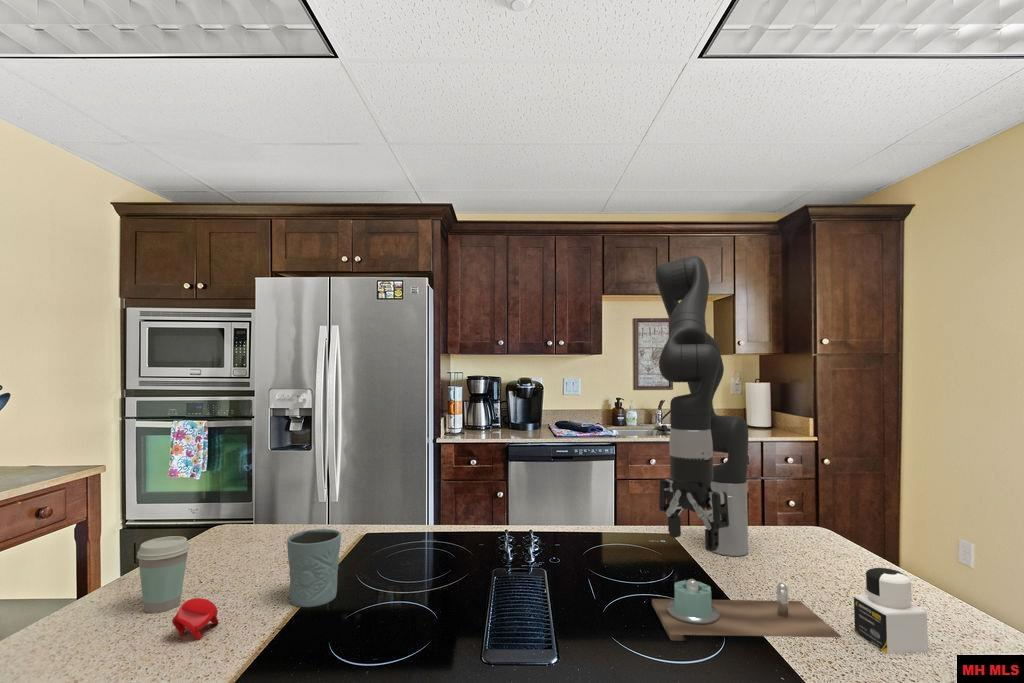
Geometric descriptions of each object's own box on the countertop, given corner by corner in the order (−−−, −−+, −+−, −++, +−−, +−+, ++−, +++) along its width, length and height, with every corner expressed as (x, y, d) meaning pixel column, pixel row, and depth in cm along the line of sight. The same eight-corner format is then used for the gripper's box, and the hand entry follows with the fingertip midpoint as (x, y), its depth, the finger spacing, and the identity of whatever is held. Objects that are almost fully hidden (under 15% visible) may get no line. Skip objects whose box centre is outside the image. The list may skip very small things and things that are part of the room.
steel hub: (661, 602, 103) (661, 569, 103) (709, 603, 102) (709, 570, 103) (674, 624, 94) (673, 589, 94) (727, 625, 93) (726, 589, 94)
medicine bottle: (854, 637, 91) (851, 564, 92) (893, 635, 92) (891, 563, 93) (886, 660, 84) (883, 580, 85) (929, 658, 85) (926, 579, 85)
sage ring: (667, 606, 99) (667, 584, 100) (692, 600, 102) (691, 578, 102) (693, 620, 94) (693, 596, 94) (718, 613, 97) (718, 590, 97)
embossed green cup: (300, 613, 100) (302, 547, 101) (276, 598, 107) (277, 535, 107) (350, 596, 108) (351, 535, 108) (324, 583, 114) (325, 525, 115)
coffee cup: (198, 600, 106) (200, 537, 106) (157, 619, 98) (159, 551, 98) (166, 594, 108) (168, 533, 109) (123, 612, 100) (125, 546, 101)
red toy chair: (191, 628, 87) (221, 597, 92) (163, 612, 89) (195, 581, 94) (201, 653, 92) (229, 622, 97) (175, 637, 94) (204, 607, 98)
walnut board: (651, 604, 104) (651, 598, 104) (800, 606, 103) (800, 600, 103) (670, 640, 90) (670, 634, 90) (842, 643, 89) (842, 637, 89)
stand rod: (775, 612, 98) (774, 581, 99) (785, 612, 98) (784, 581, 99) (780, 616, 97) (779, 585, 97) (790, 617, 97) (789, 585, 97)
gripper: (648, 449, 104) (649, 536, 103) (707, 460, 91) (709, 559, 91) (677, 446, 107) (678, 530, 107) (737, 457, 95) (739, 551, 94)
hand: (692, 543), depth 99 cm, fingers open, 8 cm apart
